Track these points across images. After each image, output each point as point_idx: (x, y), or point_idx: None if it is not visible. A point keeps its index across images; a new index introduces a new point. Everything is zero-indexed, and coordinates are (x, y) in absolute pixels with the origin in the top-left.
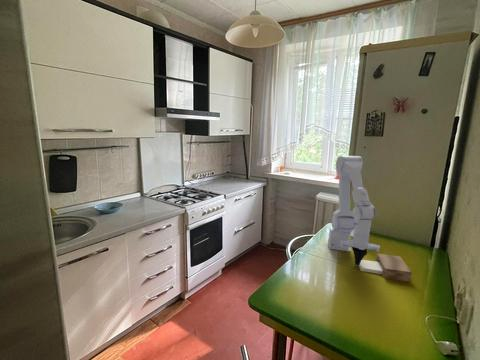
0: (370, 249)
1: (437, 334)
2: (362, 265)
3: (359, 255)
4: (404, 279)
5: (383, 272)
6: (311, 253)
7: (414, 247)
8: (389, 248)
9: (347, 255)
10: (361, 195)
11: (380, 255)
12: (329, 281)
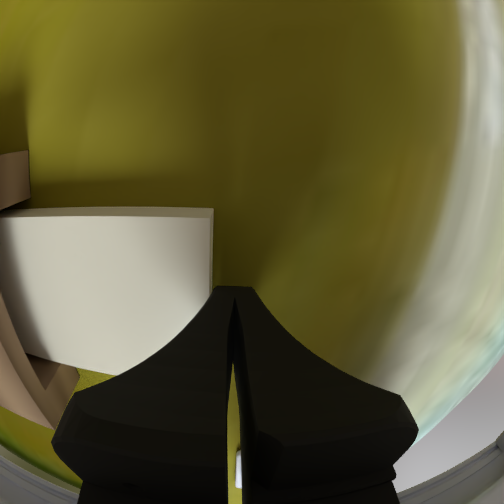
0: (29, 477)
1: None
2: (179, 278)
3: (226, 387)
4: None
5: (5, 183)
6: (483, 350)
7: (6, 439)
8: None
9: None
10: None
11: (26, 405)
12: (485, 32)
